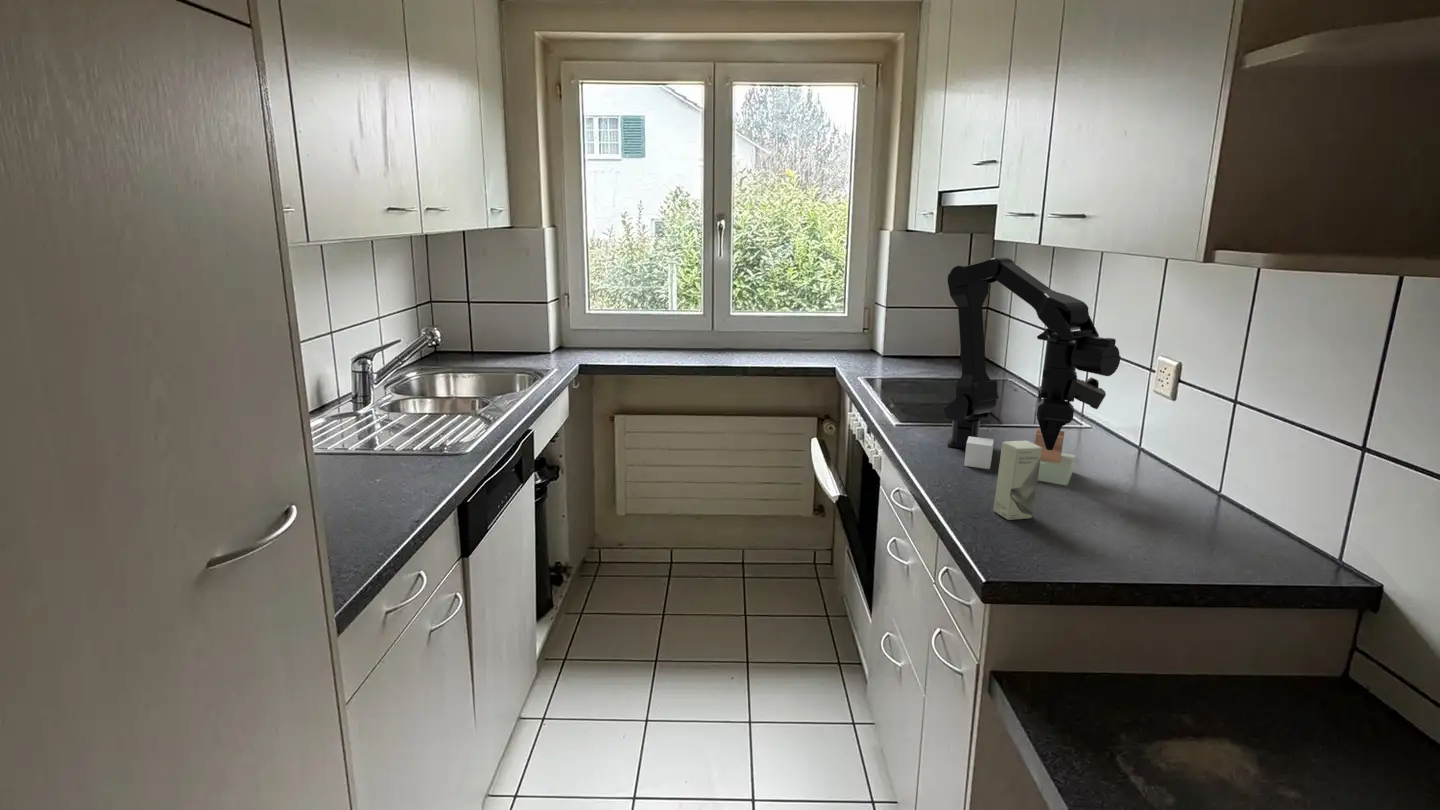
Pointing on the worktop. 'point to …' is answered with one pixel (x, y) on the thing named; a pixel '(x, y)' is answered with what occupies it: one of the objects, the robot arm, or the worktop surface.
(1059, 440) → the terracotta cube
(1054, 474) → the sage base block
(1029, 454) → the box
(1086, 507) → the worktop surface
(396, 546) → the worktop surface
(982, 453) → the grey cube
